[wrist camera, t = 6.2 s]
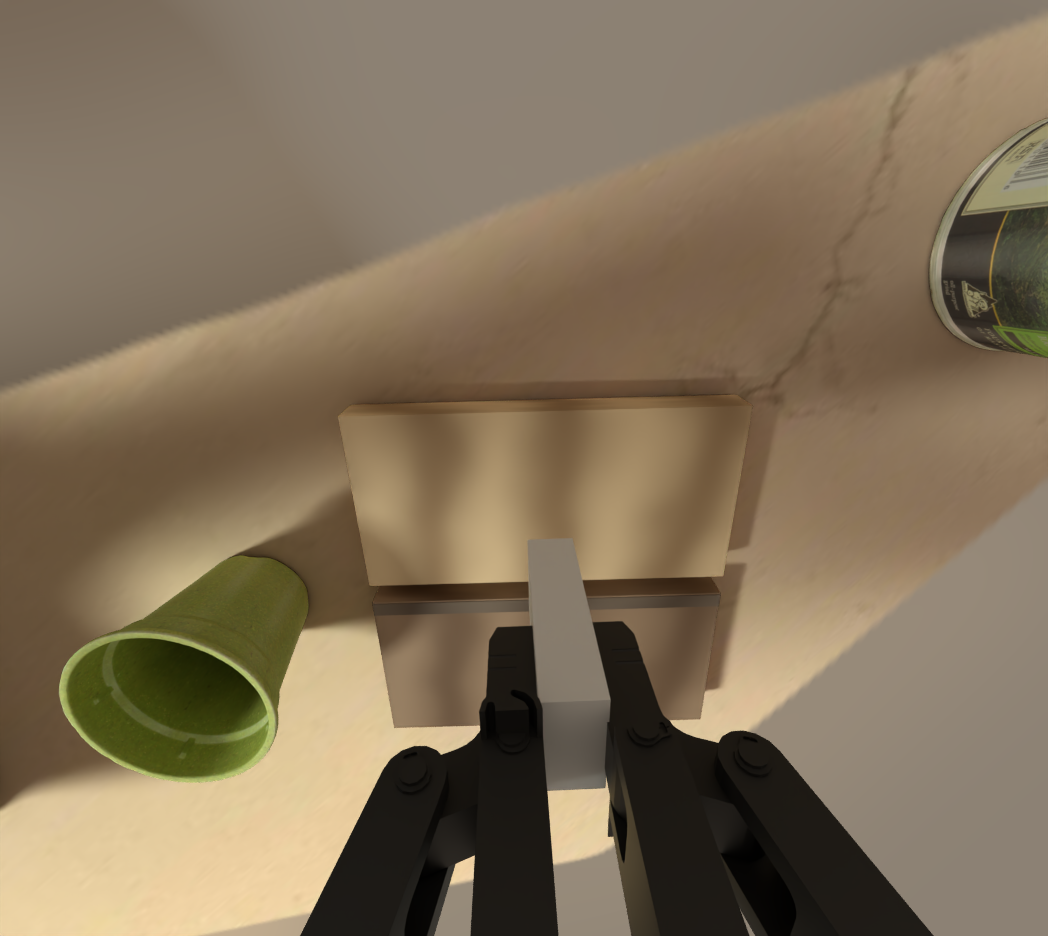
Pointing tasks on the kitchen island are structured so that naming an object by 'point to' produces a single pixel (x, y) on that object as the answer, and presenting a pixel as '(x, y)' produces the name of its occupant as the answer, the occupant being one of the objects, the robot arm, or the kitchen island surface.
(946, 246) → the coffee can
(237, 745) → the plant pot
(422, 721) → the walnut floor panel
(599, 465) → the oak plank
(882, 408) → the kitchen island surface
